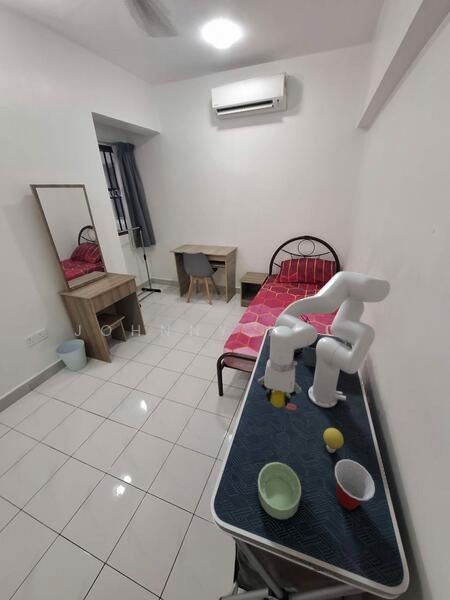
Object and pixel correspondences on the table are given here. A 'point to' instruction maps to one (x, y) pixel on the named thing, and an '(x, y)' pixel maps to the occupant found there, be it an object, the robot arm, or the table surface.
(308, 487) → the table surface
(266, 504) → the pale green bowl
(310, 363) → the storage bin
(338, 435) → the light bulb
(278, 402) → the lemon
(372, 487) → the plastic cup
